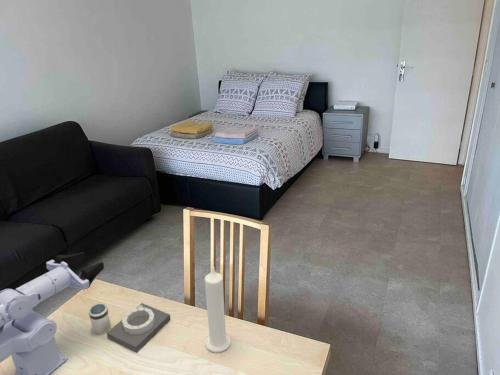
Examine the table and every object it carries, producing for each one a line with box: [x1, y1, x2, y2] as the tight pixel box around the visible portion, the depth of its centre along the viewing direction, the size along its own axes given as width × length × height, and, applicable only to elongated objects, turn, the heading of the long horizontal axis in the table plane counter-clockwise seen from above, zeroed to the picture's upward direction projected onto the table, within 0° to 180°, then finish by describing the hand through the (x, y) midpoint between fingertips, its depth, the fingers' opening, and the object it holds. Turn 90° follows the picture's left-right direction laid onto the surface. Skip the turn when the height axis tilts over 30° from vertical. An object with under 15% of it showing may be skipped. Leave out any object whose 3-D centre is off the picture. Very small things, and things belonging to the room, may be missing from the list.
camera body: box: [106, 302, 171, 353], centre depth 109 cm, size 14×11×4 cm
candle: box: [204, 266, 232, 354], centre depth 100 cm, size 7×7×25 cm
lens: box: [88, 303, 112, 335], centre depth 109 cm, size 5×5×7 cm
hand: (93, 260), depth 107 cm, fingers open, 7 cm apart
